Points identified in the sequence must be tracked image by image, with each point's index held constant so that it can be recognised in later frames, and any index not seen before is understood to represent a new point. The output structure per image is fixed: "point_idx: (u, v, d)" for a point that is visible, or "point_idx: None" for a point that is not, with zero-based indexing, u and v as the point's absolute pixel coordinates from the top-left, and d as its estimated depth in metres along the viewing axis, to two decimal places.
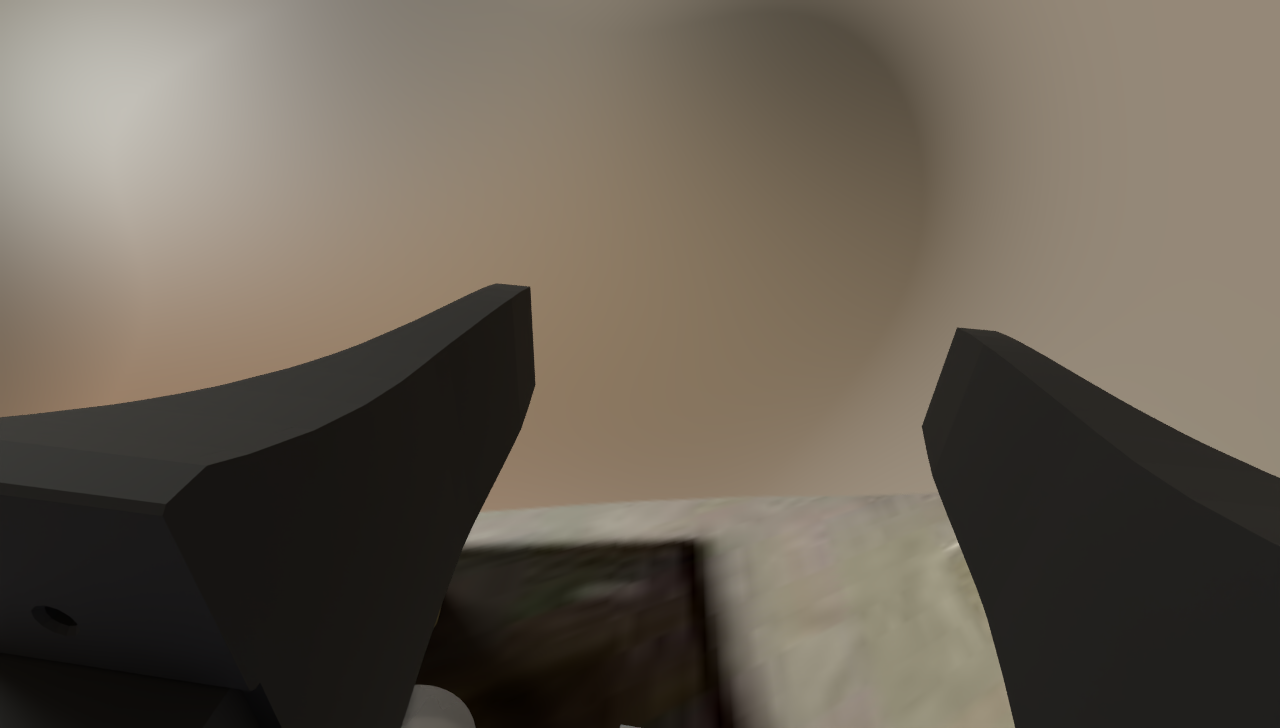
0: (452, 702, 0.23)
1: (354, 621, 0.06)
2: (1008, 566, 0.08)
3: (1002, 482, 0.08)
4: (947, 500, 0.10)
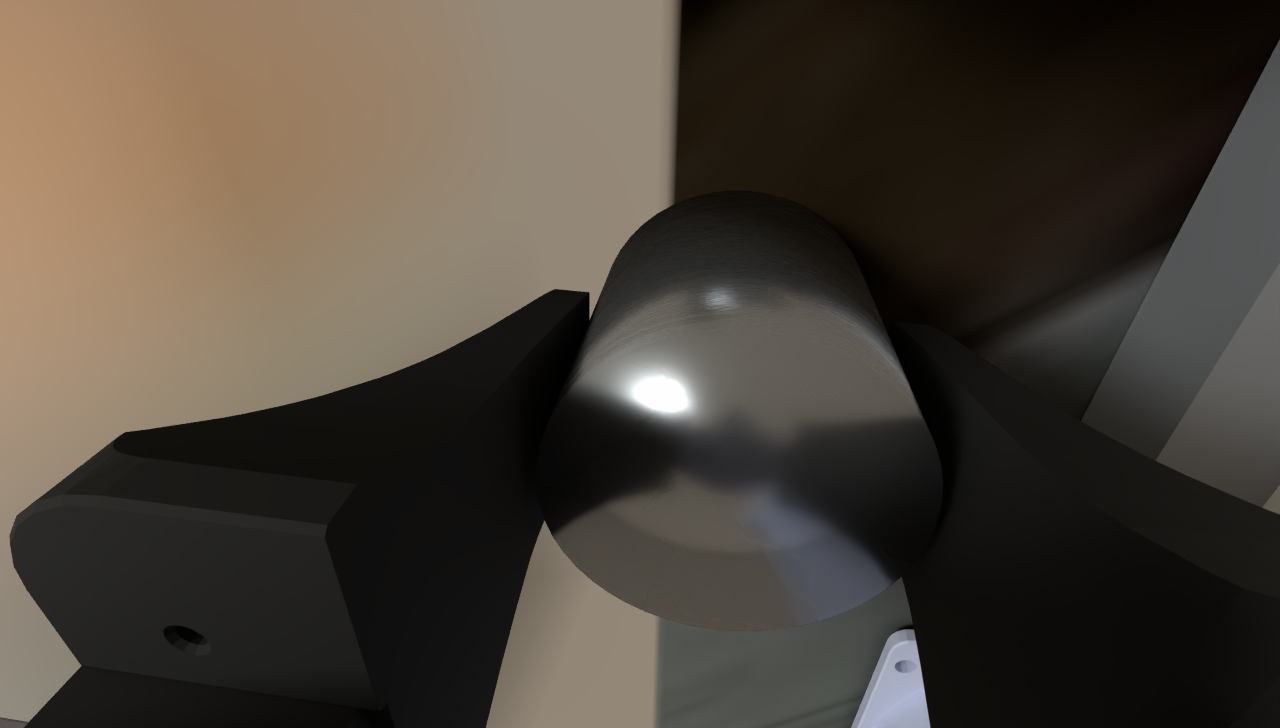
0: None
1: (453, 635, 0.06)
2: (927, 556, 0.08)
3: None
4: None
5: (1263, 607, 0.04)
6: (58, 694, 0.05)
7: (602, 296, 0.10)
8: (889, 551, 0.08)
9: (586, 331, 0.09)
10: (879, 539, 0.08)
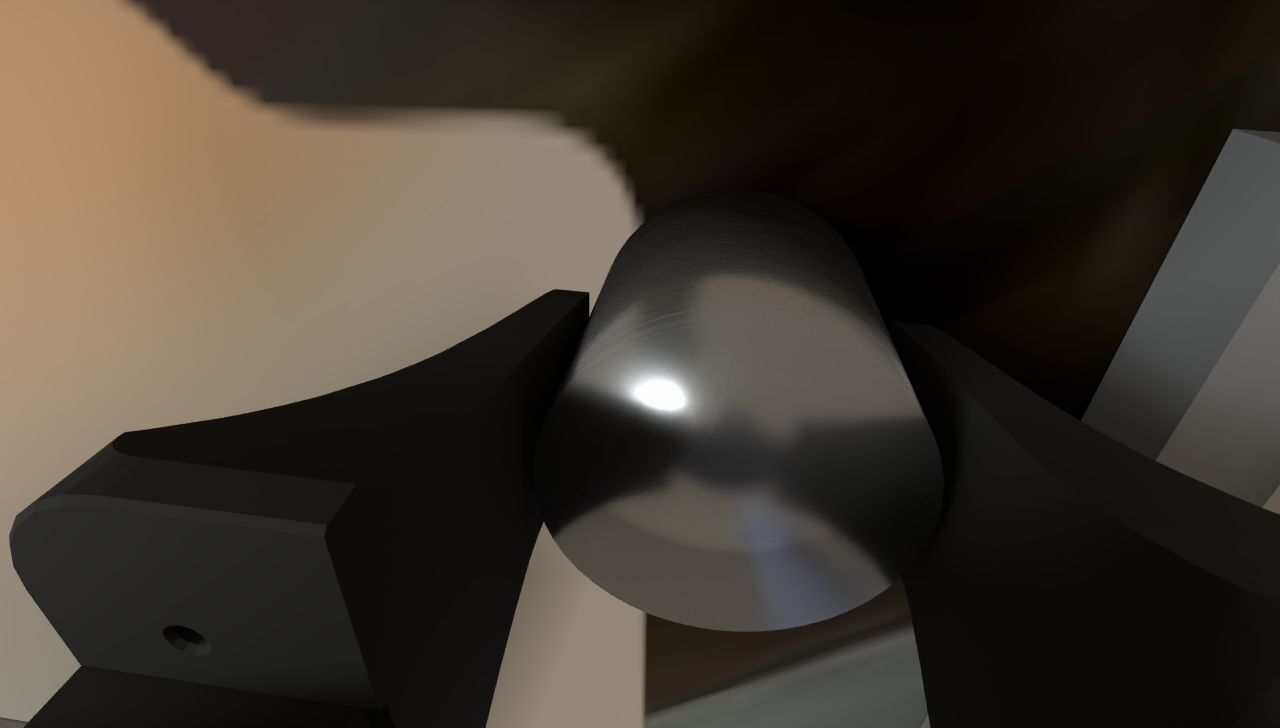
0: (819, 362, 0.07)
1: (453, 635, 0.06)
2: (927, 556, 0.08)
3: None
4: None
5: (1263, 607, 0.04)
6: (57, 694, 0.05)
7: None
8: None
9: None
10: None
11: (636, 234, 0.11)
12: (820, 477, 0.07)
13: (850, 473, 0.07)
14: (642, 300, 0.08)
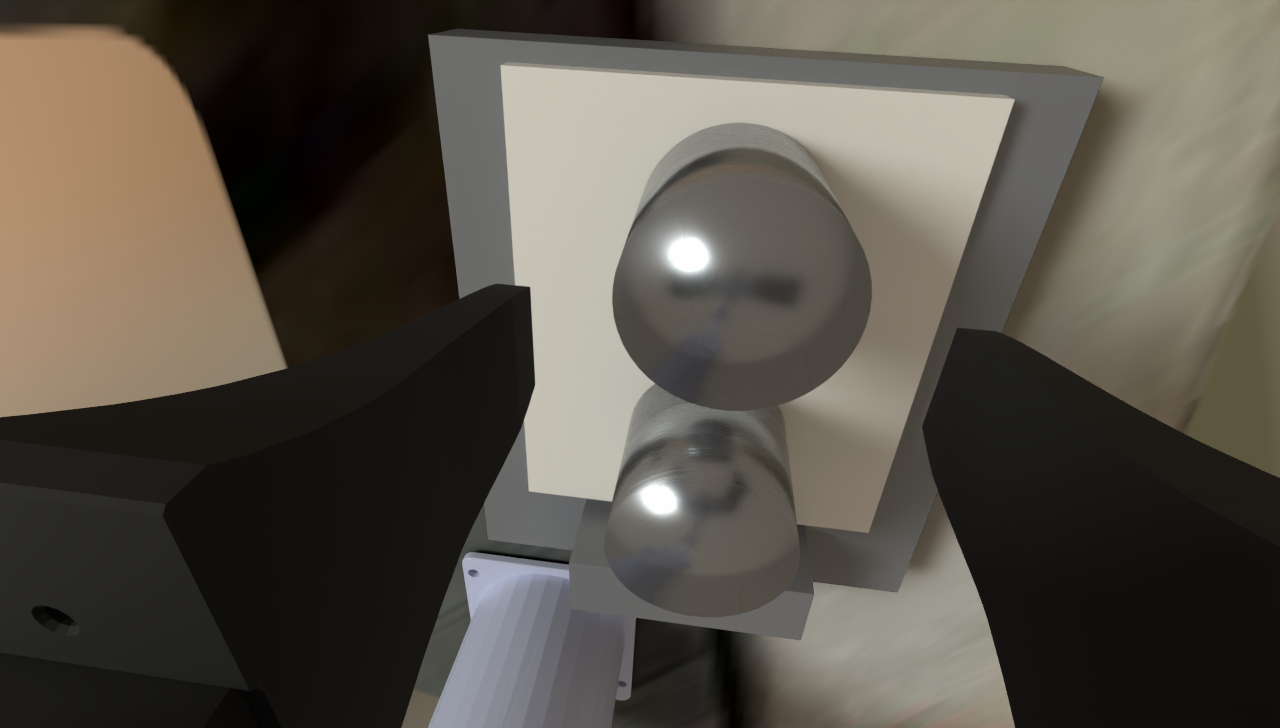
0: (791, 201, 0.11)
1: (354, 621, 0.06)
2: (1008, 566, 0.08)
3: (1002, 482, 0.08)
4: (947, 500, 0.10)
5: None
6: None
7: (636, 432, 0.18)
8: (776, 579, 0.16)
9: (628, 455, 0.17)
10: (772, 573, 0.16)
11: (665, 157, 0.15)
12: (795, 283, 0.12)
13: (814, 278, 0.12)
14: (680, 178, 0.12)
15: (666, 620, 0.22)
